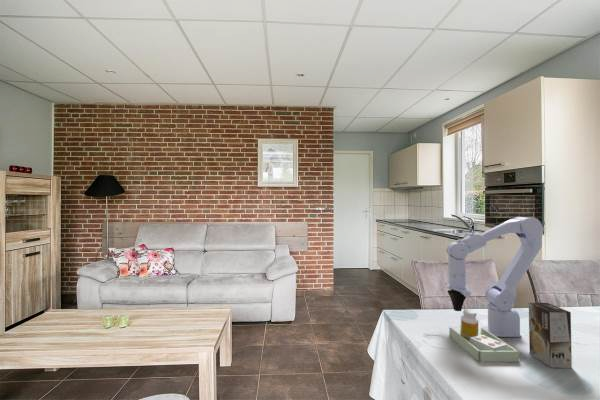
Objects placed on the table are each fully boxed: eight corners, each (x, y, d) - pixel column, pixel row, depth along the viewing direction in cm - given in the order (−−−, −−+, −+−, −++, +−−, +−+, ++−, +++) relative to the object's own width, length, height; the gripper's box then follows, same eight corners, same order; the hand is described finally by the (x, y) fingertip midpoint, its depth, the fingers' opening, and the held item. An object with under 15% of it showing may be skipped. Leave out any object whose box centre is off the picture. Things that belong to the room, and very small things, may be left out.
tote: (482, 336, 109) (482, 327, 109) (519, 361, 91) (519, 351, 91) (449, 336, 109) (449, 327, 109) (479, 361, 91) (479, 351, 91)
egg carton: (482, 346, 102) (482, 332, 102) (506, 357, 94) (506, 342, 94) (469, 350, 99) (469, 335, 99) (494, 361, 92) (493, 345, 92)
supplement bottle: (480, 343, 104) (481, 315, 103) (463, 341, 105) (463, 313, 104) (474, 335, 109) (475, 309, 109) (458, 334, 110) (459, 307, 110)
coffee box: (573, 368, 88) (572, 312, 88) (550, 368, 88) (550, 311, 88) (548, 353, 97) (547, 302, 97) (527, 352, 97) (527, 302, 97)
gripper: (437, 270, 123) (438, 304, 123) (456, 278, 108) (457, 317, 108) (455, 270, 123) (455, 304, 123) (476, 278, 108) (476, 317, 108)
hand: (457, 310), depth 115 cm, fingers closed
